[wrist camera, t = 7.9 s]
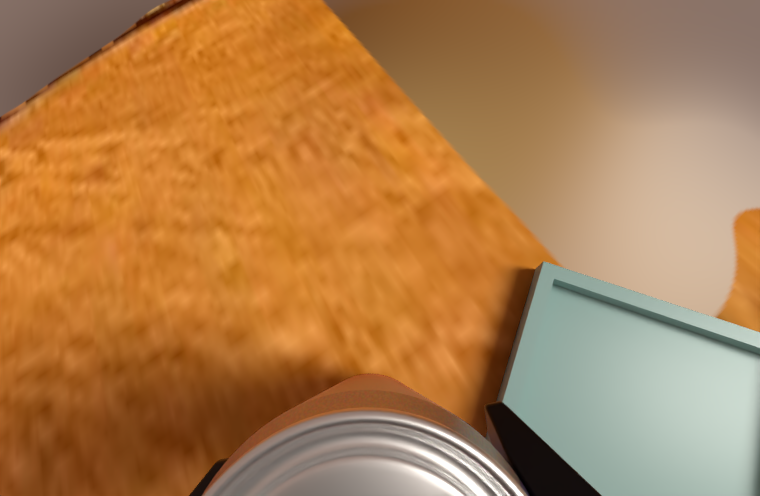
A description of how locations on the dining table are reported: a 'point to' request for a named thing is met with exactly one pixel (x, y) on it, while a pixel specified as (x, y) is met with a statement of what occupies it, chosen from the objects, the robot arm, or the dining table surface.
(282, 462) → the beverage can
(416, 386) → the dining table surface
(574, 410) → the tray
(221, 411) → the dining table surface
